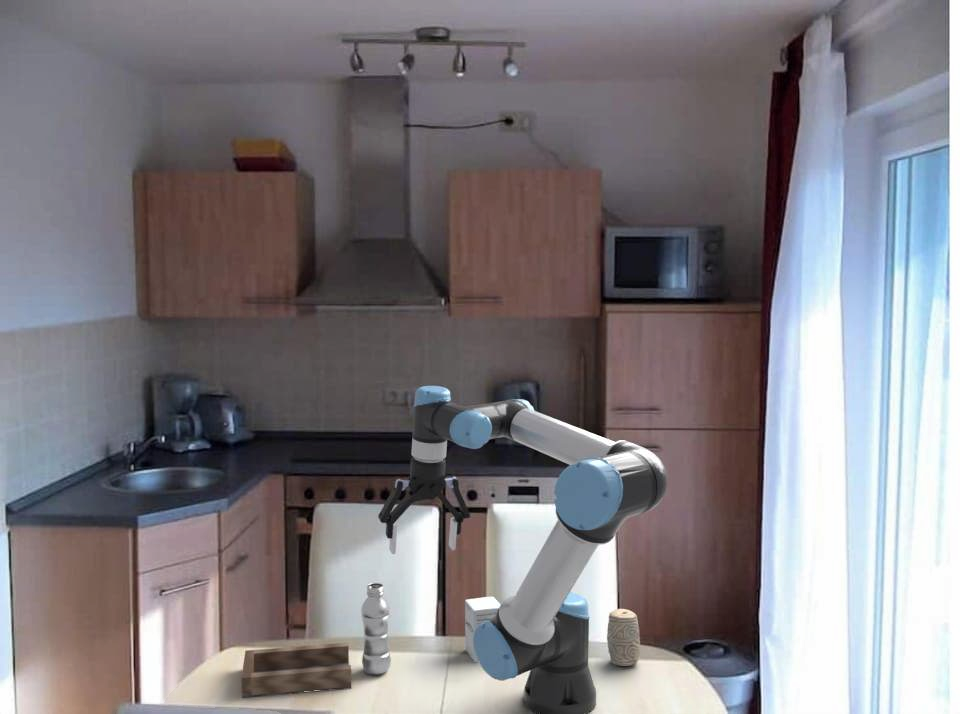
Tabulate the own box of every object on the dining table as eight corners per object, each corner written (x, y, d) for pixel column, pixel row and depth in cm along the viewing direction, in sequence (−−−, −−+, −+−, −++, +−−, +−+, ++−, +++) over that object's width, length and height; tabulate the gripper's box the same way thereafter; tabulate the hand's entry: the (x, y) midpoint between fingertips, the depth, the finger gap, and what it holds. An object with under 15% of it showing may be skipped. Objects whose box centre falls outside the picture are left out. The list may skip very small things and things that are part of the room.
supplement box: (464, 650, 222) (464, 598, 221) (494, 646, 224) (494, 595, 223) (473, 663, 215) (473, 610, 214) (504, 659, 217) (504, 606, 216)
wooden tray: (348, 660, 217) (348, 642, 216) (351, 688, 203) (351, 668, 203) (246, 669, 213) (245, 650, 212) (242, 697, 199) (241, 678, 198)
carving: (608, 655, 219) (609, 606, 218) (641, 659, 217) (642, 609, 216) (604, 667, 213) (605, 616, 212) (638, 671, 211) (639, 619, 210)
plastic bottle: (393, 665, 214) (392, 581, 212) (387, 679, 207) (386, 591, 205) (365, 664, 215) (364, 580, 212) (359, 677, 208) (357, 590, 206)
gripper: (477, 450, 210) (471, 539, 214) (368, 453, 202) (363, 546, 206) (488, 461, 203) (481, 553, 207) (375, 464, 195) (370, 560, 199)
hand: (422, 549), depth 207 cm, fingers open, 13 cm apart
